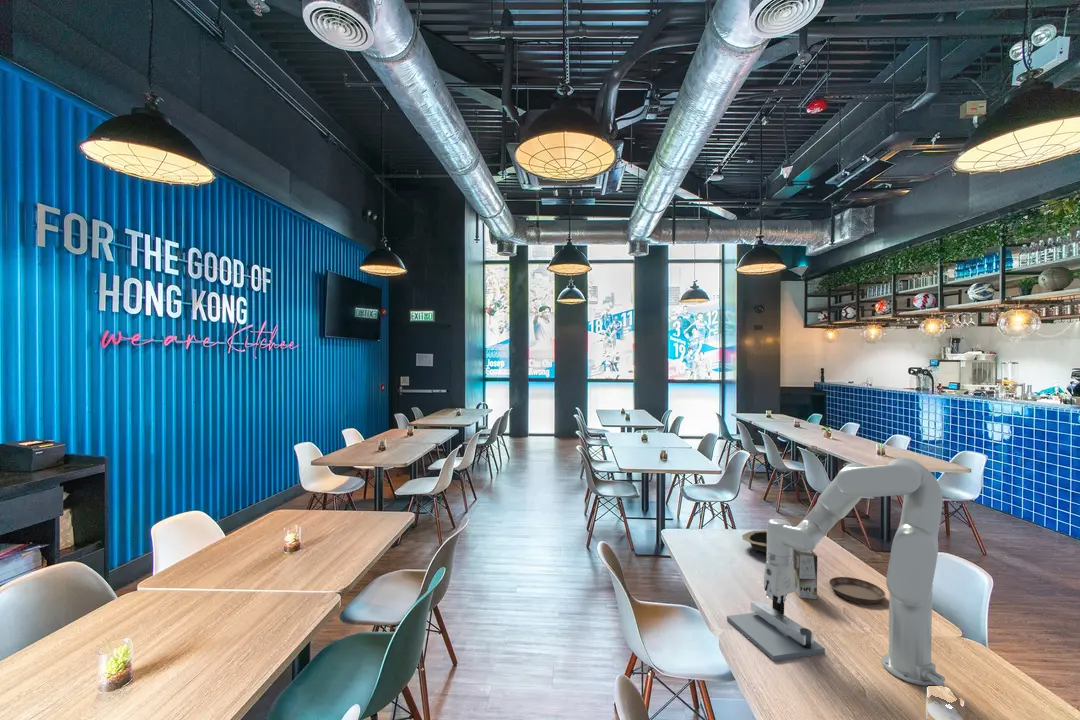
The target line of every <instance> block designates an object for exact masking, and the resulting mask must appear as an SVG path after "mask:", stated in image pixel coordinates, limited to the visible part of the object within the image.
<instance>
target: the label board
mask: <svg viewBox="0 0 1080 720" xmlns="http://www.w3.org/2000/svg"><path fill="white" fill-rule="evenodd" d="M726 621H727V622H728V623H729V624H731V625H732V626H733V627H734V628H735V629H736V630H737V629H738V630H739V631H738V630H737V631H738V632H740V634H742V633H743V634H744V635H745V636H746V637H747V638H746V637H745V636H744V635H743V634H742V635H743V636H744V637H745V638H746V639H748V638H749V639H750V640H751V641H752V642H753V643H754V644H755V645H754V644H753V643H752V642H751V641H750V640H749V639H748V640H749V641H750V642H751V643H752V644H753V645H754V646H756V645H757V646H758V647H759V648H760V649H761V650H762V651H763V652H762V653H763V654H765V653H766V654H767V655H768V656H769V657H770V658H771V661H773V662H775V661H774V660H778V661H783V659H784V660H788V659H789V660H790V659H795V658H802V657H809V656H816V655H823V654H826V648H825V647H824V646H823V645H821V644H820V643H818V642H817V641H816V640H814V643H811V648H804V647H802V646H801V645H800V643H799V642H798V641H796V640H795V639H793V638H792V637H790V636H789V635H787V634H786V633H785V632H783V631H782V630H780V629H779V628H777V627H776V626H774V625H773V624H771V623H770V622H768V621H767V620H765V619H764V618H762V617H761V616H759V615H758V614H756V613H755V612H749V613H741V614H733V615H727V616H726ZM757 646H756V647H757ZM758 647H757V648H758ZM759 648H758V649H759ZM760 649H759V650H760ZM761 650H760V651H761ZM766 654H765V655H766ZM767 655H766V656H767ZM768 656H767V657H768ZM769 657H768V658H769ZM770 658H769V659H770Z"/></svg>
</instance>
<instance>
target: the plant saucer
mask: <svg viewBox="0 0 1080 720" xmlns="http://www.w3.org/2000/svg"><path fill="white" fill-rule="evenodd" d="M828 583H829V585H830V587H831V588H832V590H833V591H834V592H835V593H836V594H837V595H838V596H839V597H841V598H843V599H846V600H849V601H851V602H855V603H859V604H864V605H874V604H877V603H880V602H881V601H882V600H883V599H884V598H886V592H885V591H884V590H883V588H881V587H880V586H878V585H876V584H874V583H872V582H869V581H867V580H863V579H860V578H855V577H849V576H835V577H832V578H830V579H829V580H828Z"/></svg>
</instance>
